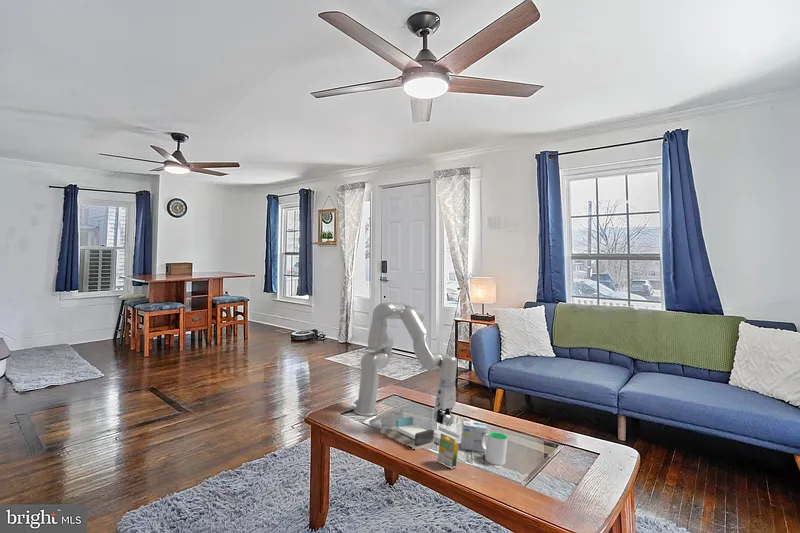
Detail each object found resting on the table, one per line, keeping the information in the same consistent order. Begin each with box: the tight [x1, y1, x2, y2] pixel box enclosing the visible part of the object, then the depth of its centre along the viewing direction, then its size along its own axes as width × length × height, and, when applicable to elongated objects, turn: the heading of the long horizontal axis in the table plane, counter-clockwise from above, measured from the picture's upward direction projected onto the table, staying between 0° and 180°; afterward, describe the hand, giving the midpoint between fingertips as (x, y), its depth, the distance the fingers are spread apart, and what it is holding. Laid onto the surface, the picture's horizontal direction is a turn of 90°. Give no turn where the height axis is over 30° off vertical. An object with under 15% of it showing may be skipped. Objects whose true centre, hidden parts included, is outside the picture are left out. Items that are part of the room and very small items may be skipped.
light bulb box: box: [460, 419, 488, 453], centre depth 177 cm, size 11×7×11 cm, turn 84°
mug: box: [482, 431, 508, 466], centre depth 167 cm, size 12×8×10 cm
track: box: [380, 425, 435, 451], centre depth 178 cm, size 22×12×6 cm, turn 45°
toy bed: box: [395, 416, 428, 440], centre depth 176 cm, size 12×10×6 cm
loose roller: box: [433, 411, 454, 427], centre depth 185 cm, size 8×4×4 cm, turn 45°
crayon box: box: [437, 433, 459, 467], centre depth 156 cm, size 7×3×12 cm, turn 43°
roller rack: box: [433, 425, 461, 445], centre depth 184 cm, size 12×14×2 cm
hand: (443, 421), depth 185 cm, fingers closed on loose roller, 4 cm apart
